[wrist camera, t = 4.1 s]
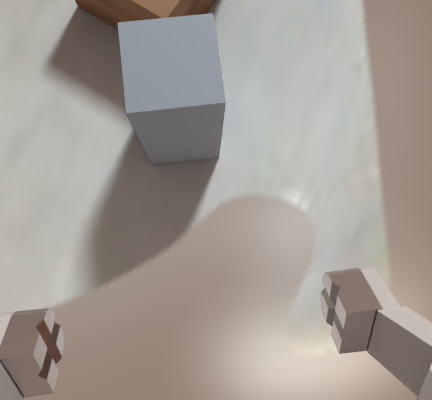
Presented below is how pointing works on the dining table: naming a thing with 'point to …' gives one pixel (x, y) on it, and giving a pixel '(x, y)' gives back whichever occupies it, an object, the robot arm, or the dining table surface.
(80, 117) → the dining table surface
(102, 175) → the dining table surface
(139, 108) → the slate block
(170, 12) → the walnut block
